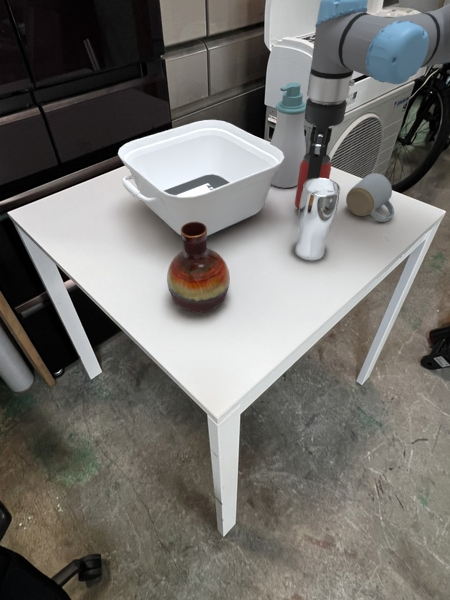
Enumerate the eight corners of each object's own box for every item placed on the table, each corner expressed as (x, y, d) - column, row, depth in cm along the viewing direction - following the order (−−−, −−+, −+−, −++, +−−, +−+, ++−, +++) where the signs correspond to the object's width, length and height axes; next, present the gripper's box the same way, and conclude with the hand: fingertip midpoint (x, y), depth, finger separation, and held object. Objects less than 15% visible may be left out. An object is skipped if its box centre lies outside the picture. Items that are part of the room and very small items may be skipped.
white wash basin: (225, 168, 104) (224, 113, 93) (297, 214, 88) (306, 153, 77) (112, 210, 90) (96, 151, 79) (173, 274, 74) (162, 210, 63)
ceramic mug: (340, 210, 88) (348, 181, 83) (358, 197, 92) (367, 167, 86) (381, 229, 83) (392, 199, 77) (398, 214, 87) (410, 184, 81)
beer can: (289, 203, 88) (295, 153, 80) (313, 197, 90) (322, 148, 81) (303, 217, 84) (311, 167, 75) (328, 211, 86) (339, 161, 77)
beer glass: (286, 247, 79) (294, 182, 68) (312, 237, 81) (325, 173, 70) (305, 266, 75) (317, 200, 64) (333, 255, 77) (349, 190, 66)
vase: (207, 269, 75) (203, 201, 63) (242, 301, 68) (243, 232, 57) (159, 293, 70) (145, 225, 59) (191, 329, 64) (182, 261, 53)
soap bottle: (257, 179, 99) (262, 84, 83) (282, 167, 104) (291, 75, 87) (285, 193, 94) (296, 95, 78) (310, 180, 98) (325, 84, 82)
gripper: (344, 120, 63) (321, 232, 79) (350, 83, 76) (329, 186, 92) (300, 116, 64) (286, 227, 81) (312, 81, 77) (298, 182, 94)
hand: (309, 205), depth 87 cm, fingers closed on beer can, 7 cm apart
